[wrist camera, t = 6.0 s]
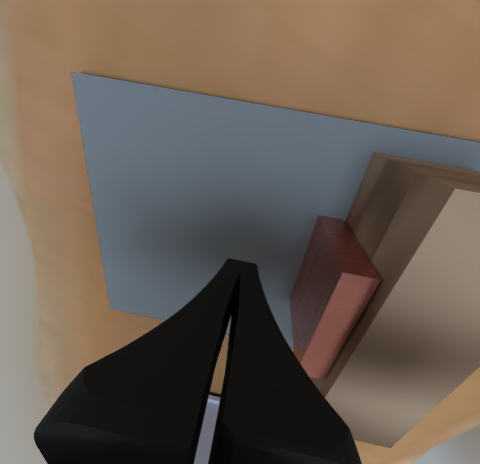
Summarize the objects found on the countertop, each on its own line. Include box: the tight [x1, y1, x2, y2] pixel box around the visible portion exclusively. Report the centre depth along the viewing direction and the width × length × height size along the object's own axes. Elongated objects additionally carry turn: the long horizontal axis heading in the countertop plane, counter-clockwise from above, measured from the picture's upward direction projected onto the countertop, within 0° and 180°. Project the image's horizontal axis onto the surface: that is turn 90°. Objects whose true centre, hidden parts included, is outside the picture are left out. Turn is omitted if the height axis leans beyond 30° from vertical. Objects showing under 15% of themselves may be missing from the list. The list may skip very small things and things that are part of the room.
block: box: [310, 152, 480, 448], centre depth 10 cm, size 12×4×5 cm, turn 171°
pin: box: [290, 215, 381, 380], centre depth 11 cm, size 7×6×4 cm
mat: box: [71, 72, 480, 348], centre depth 13 cm, size 14×20×1 cm
